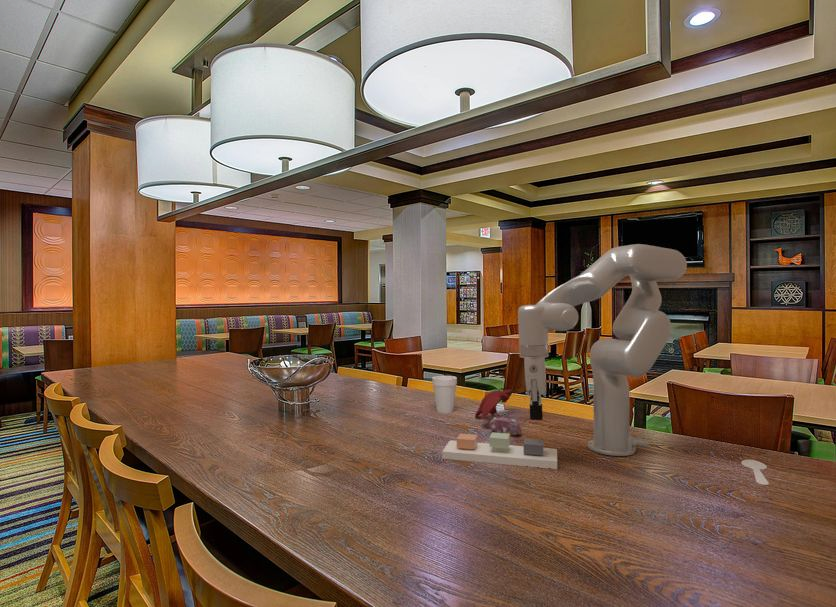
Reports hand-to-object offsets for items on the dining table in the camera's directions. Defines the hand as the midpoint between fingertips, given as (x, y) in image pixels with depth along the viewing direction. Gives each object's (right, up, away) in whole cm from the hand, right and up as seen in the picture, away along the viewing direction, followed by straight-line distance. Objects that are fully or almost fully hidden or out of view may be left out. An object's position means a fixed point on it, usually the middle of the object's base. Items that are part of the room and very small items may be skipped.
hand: (536, 419), depth 124 cm
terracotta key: (-18, -9, +5) cm, 21 cm away
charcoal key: (-1, -9, 0) cm, 9 cm away
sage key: (-9, -8, +2) cm, 12 cm away
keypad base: (-9, -11, +2) cm, 15 cm away
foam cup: (-21, -11, +54) cm, 59 cm away
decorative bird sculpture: (-5, -11, +42) cm, 43 cm away
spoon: (+53, -11, -9) cm, 54 cm away
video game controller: (-4, -11, +24) cm, 26 cm away
